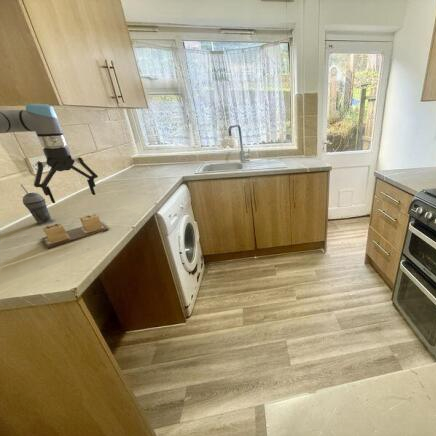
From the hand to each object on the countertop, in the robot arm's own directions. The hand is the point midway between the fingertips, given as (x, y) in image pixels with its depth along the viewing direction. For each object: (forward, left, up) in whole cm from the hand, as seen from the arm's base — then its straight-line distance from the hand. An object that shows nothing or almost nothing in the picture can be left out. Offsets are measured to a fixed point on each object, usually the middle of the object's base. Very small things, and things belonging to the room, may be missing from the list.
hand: (74, 198), depth 104 cm
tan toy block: (+5, -10, -14) cm, 18 cm away
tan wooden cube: (+5, +2, -14) cm, 14 cm away
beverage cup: (-23, -11, -15) cm, 30 cm away
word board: (+5, -5, -15) cm, 16 cm away
